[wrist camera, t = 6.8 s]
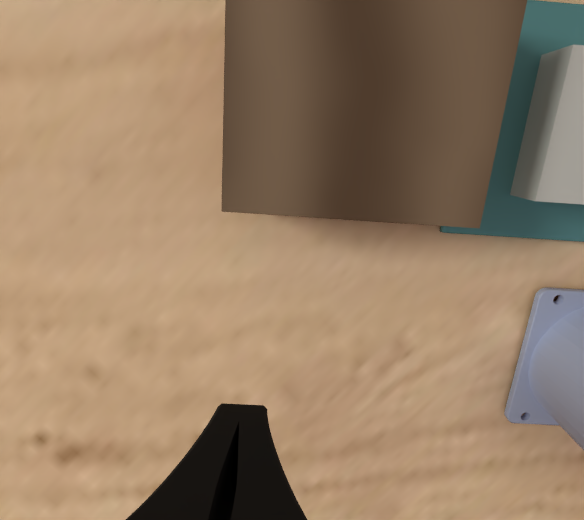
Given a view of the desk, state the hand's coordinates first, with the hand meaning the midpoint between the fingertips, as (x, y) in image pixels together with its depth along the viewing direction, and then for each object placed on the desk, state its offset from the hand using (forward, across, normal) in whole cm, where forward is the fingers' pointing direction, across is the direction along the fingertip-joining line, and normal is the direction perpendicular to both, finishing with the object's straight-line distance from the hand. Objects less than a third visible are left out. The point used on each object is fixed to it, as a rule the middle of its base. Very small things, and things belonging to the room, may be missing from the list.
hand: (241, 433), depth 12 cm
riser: (+9, -4, -10) cm, 14 cm away
